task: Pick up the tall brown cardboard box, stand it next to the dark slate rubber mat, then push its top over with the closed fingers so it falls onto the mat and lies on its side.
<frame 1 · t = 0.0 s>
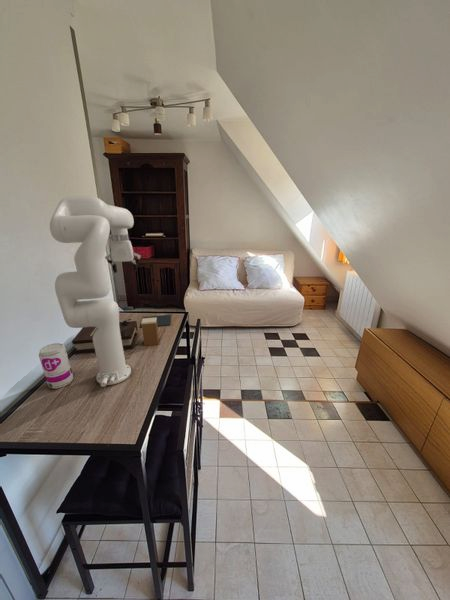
hand: (125, 271, 130), 31 cm above the table, tool pointing down, fingers open, 9 cm apart
slate mat: (156, 321, 146), on the table
cardboard box: (151, 342, 123), on the table
supplement can: (61, 382, 95), on the table
decorative book: (109, 342, 123), on the table
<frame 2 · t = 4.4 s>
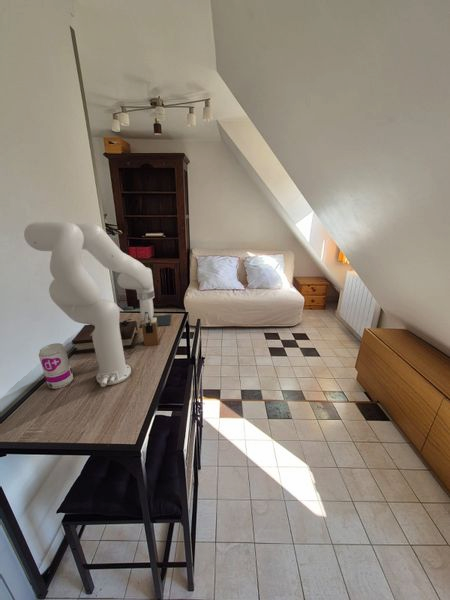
hand: (150, 329, 120), 7 cm above the table, tool pointing down, fingers closed on cardboard box, 5 cm apart
cardboard box: (151, 342, 123), on the table, touching gripper
everything else where it was.
when the fingers open (7 cm above the table, at t = 11.1 s): cardboard box stays where it is, on the table.
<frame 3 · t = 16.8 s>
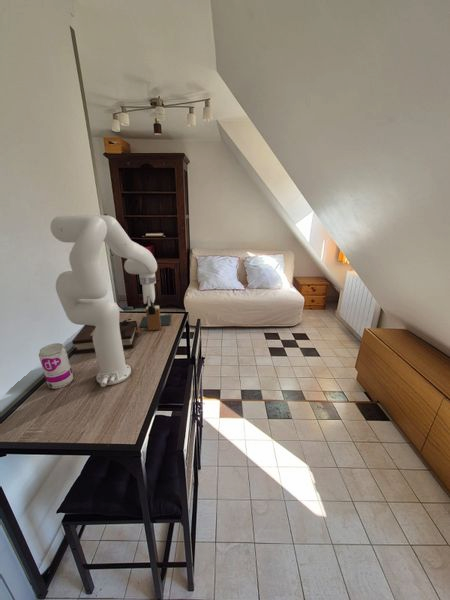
hand: (152, 313, 130), 10 cm above the table, tool pointing down, fingers closed
cardboard box: (154, 328, 137), on the table, tilted 6°, touching gripper
everything else where it was.
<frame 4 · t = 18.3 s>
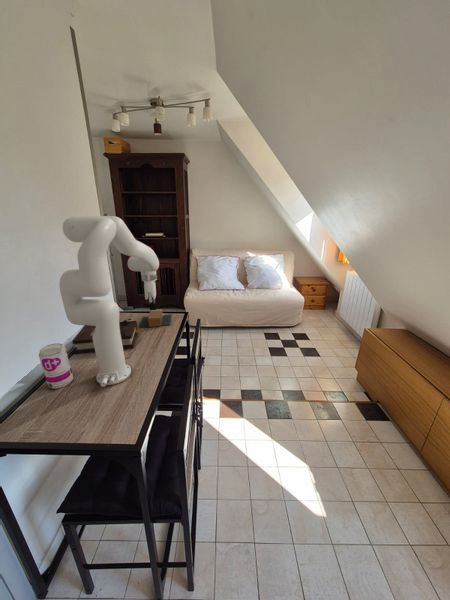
hand: (153, 309, 136), 10 cm above the table, tool pointing down, fingers closed
cardboard box: (154, 322, 137), point 3 cm above the table, tilted 90°, touching slate mat
everything else where it was.
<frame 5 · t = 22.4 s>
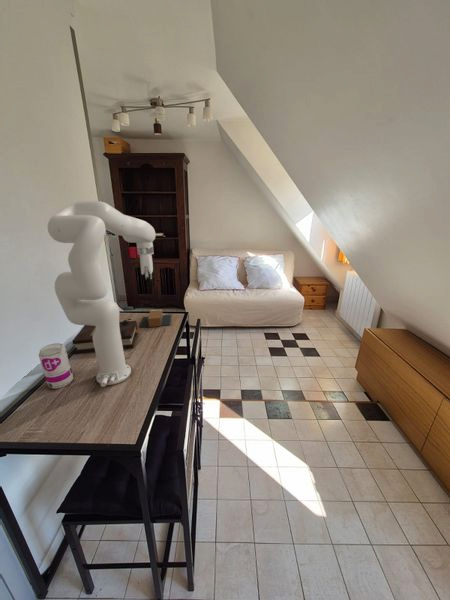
hand: (149, 286, 129), 24 cm above the table, tool pointing down, fingers closed
nothing on the table moved.
at the end: cardboard box tilted 90°; cardboard box inside the target area on the slate mat (7.1 cm from its centre), point 3.0 cm above the slate mat's base; the gripper is holding nothing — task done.
